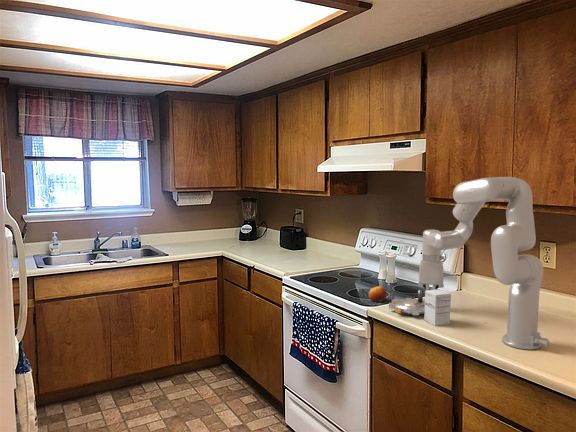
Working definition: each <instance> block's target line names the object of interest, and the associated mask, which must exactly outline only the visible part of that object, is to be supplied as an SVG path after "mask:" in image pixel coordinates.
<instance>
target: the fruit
mask: <svg viewBox="0 0 576 432" xmlns="http://www.w3.org/2000/svg"><path fill="white" fill-rule="evenodd" d="M386 293H387V291H386V289H385V288H384V287H383V286H379V285H378V286H375V287H372V288H370V290H369V291H368V298H369V300H370V301H372V302H375V303H378V302H380V303H382V301H385V300H386V299H385V298H386Z"/></svg>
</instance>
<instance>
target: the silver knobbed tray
mask: <svg viewBox="0 0 576 432" xmlns="http://www.w3.org/2000/svg"><path fill="white" fill-rule="evenodd" d="M423 297H424V290H423V289H418V290H417V299H416V298H412V297H405V298H399V299H398V298H394V299H392V300H391V302H389V303H388V308H389V309H390V310H391V309H393V310H395V313H398V314H403V313H407V314H412V315H411V316H420V315H419V314H422V315H425V299H424V298H423Z"/></svg>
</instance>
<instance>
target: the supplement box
mask: <svg viewBox="0 0 576 432" xmlns="http://www.w3.org/2000/svg"><path fill="white" fill-rule="evenodd" d="M451 298H452V294H451V293H450V292H447V291H444V290H442V289H441V288H438V289H436V290H431V289H430V290H427V291H426V290H425V291H424V300H425V314H423V315H424V319H423V320H424V321H425V322H426V323H429V324H431V325H433V326H434V327H439V325H440V326H447V325H451V306H452V305H451V300H452V299H451Z"/></svg>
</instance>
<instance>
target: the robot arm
mask: <svg viewBox="0 0 576 432" xmlns="http://www.w3.org/2000/svg"><path fill="white" fill-rule="evenodd" d="M452 197H453V200H454V202H456V204H455V206H454V207H453V208H452V215H453V218H455V219H456V220H457V221H459V223H458V224H457V226H456V227H455V229H454V230H447V231H440V230H438V229H426V230H424V231H423V232H422V259H420V262H419V270H418V283H417V285H418V287H422V288H424V289H425V291H427V290H436V289H442V288H444V287H445V284H444V263H443V261H442V260H445V256H443V255H442V251H446V250H453V249H459V248H461V247H463V246H464V245H465V244H466V243H467V241H468V240H469V238H470V237H471V236H472V233H473V231H474V230H473V229H474V222H473V221H474V219H475V218H476V216H477V215H478V213H479V212H480V210H481V209H482V208H483V207H484V205H485V204H486V203H489V202H502V201H507V202H508V204H507V205H506V206H507V207H506V211H505V217H506V224H504V225H500V226H498V227H496V228H495V229H494V230H493V232H492V234H491V236H490V249H491V250H490V251H491V258H492V270H493V273H494V276H495V278H496V280H497V281H498V282H499V283H501V284H502V285H506V286H509V290H508V297H507V298H508V300H507V301H508V302H507V321H506V323H507V326H506V327H507V328H506V334H504V335H502V336H501V342H502V343H504V344H505V345H506V346H508V347H511V348H515V349H520V350H537V349H541V348H542V347H543V346H545V347H549V346H550V341H549V339H548V338H547V337H546V338H545V337H542V336H541V332H540V331H538V330H539V329H538V326H539V305H540V304H539V303H540V291H541V284H542V281H543V277H544V264H543V263H542V260H541V259H539V258H538V257H537V256H535V255H533V254H518V253H519V252H523V251H524V252H525V251H528V250H531V249H533V248H534V246H536V242H537V240H536V239H537V237H536V227H535V216H534V210H533V209H534V208H533V206H534V205H533V203H534V202H533V192H532V189H531V187H530V185H529V184H528V182H526V181H525V180H523V179H522V178H517V177H515V176H514V177H513V176H497V177H481V178H477V179H471V180H467V181H462V182H460V183H458V184H456V186H455V187H454V189H453V192H452ZM430 285H432V288H430Z"/></svg>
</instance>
